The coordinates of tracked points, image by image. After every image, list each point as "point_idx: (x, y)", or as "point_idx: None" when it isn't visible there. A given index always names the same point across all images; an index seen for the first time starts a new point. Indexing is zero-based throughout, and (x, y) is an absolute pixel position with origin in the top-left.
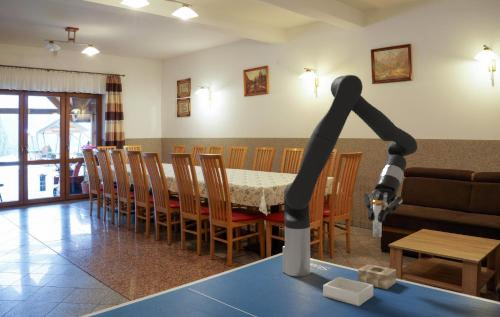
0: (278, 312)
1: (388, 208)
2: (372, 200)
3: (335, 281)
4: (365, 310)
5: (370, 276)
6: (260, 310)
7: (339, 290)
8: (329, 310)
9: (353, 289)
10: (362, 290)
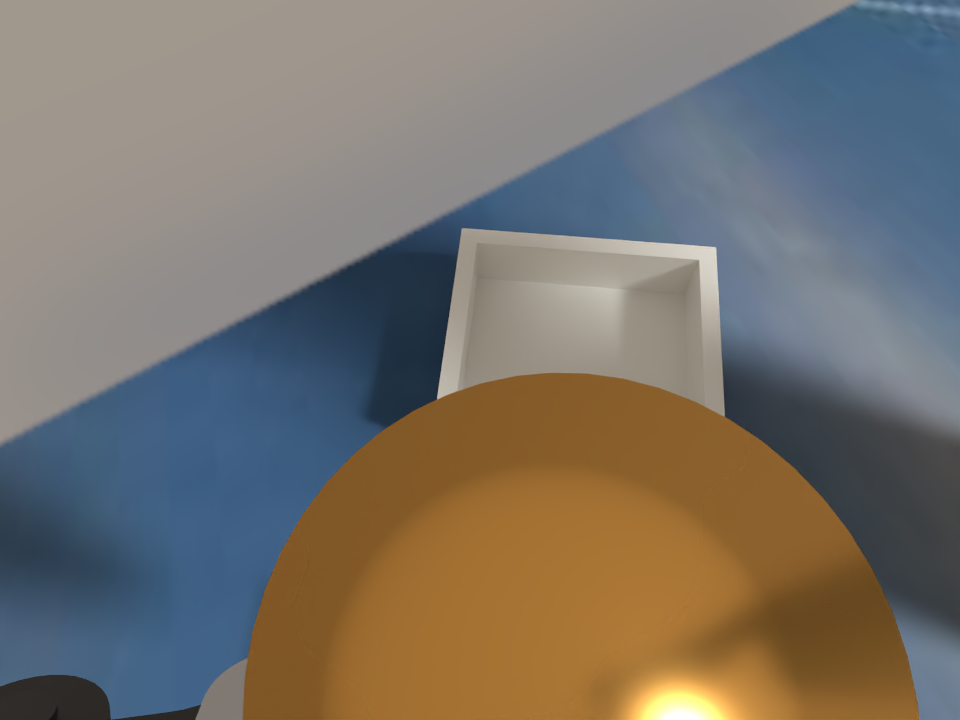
0: (752, 55)
1: (88, 691)
2: (820, 500)
3: (700, 368)
4: (418, 251)
5: None
6: (827, 36)
7: (593, 241)
8: (574, 169)
9: None
10: (464, 289)
